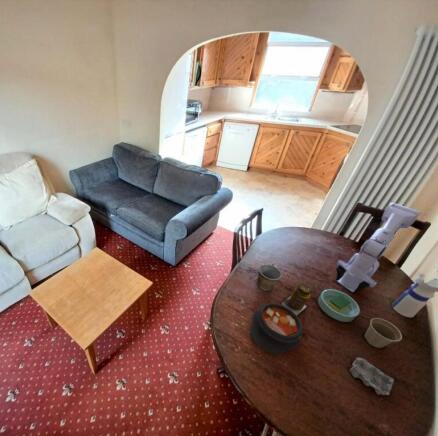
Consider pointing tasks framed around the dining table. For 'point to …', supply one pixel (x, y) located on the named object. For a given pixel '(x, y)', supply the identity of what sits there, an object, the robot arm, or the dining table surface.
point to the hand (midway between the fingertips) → (346, 285)
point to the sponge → (339, 303)
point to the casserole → (276, 328)
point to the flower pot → (382, 333)
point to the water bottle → (415, 296)
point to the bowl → (344, 315)
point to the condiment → (298, 299)
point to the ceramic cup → (268, 276)
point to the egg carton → (372, 376)
